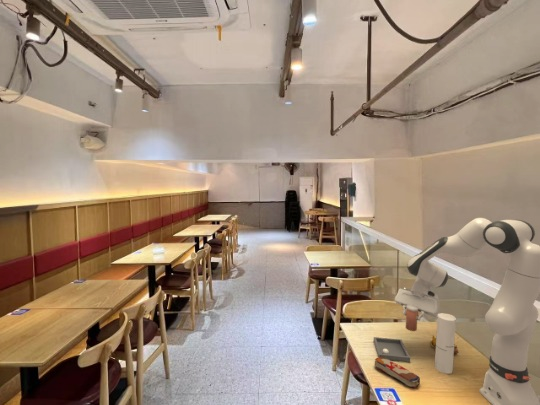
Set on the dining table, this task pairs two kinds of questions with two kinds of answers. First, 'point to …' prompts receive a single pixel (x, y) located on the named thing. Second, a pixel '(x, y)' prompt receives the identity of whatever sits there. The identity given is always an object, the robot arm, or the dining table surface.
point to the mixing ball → (385, 351)
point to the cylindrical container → (445, 343)
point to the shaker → (411, 317)
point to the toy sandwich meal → (433, 344)
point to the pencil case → (397, 372)
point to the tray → (391, 349)
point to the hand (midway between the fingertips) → (411, 317)
